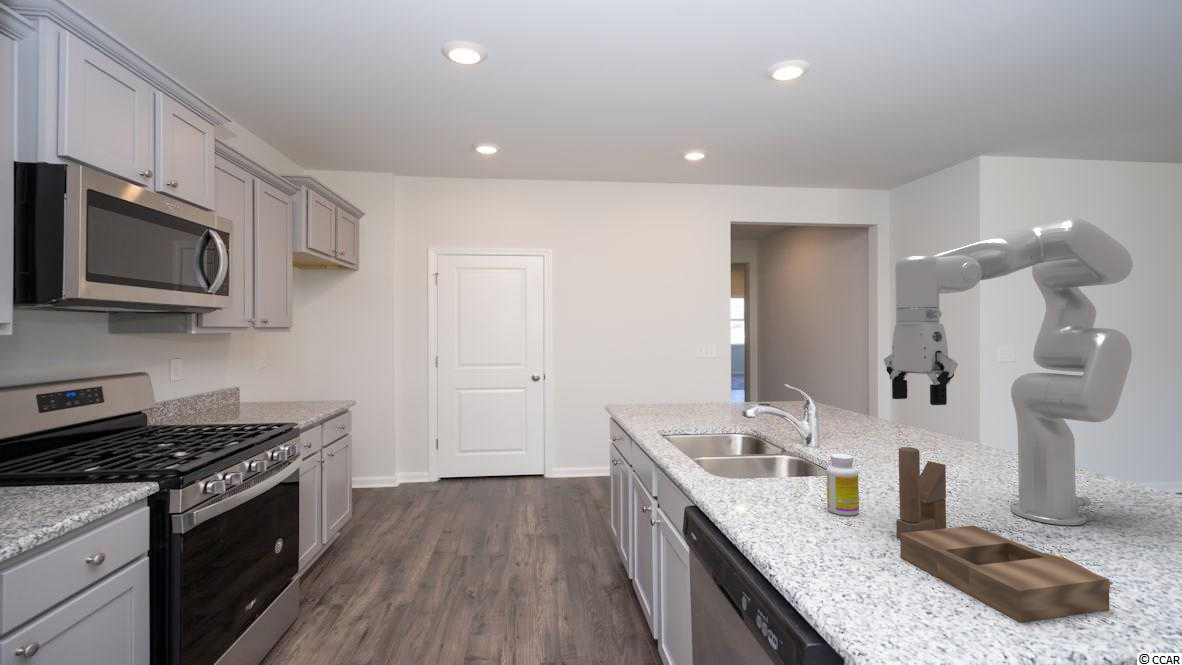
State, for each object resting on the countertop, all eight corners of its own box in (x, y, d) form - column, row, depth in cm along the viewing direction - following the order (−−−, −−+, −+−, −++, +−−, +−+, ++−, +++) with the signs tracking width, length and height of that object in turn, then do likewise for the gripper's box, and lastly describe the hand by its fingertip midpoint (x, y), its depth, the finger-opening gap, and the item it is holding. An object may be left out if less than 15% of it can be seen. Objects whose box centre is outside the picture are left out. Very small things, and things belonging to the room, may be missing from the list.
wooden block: (947, 533, 106) (945, 445, 106) (913, 543, 102) (911, 451, 102) (929, 527, 110) (927, 442, 110) (895, 537, 105) (893, 448, 105)
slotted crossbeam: (974, 549, 99) (973, 525, 99) (1109, 609, 77) (1109, 578, 77) (900, 557, 96) (900, 533, 96) (1020, 622, 74) (1019, 590, 74)
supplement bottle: (866, 514, 118) (864, 457, 118) (843, 518, 116) (842, 460, 116) (842, 505, 125) (841, 451, 125) (820, 508, 122) (819, 454, 122)
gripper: (971, 315, 98) (972, 406, 98) (900, 318, 115) (901, 396, 115) (937, 315, 97) (938, 408, 96) (870, 318, 114) (871, 397, 113)
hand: (918, 401), depth 106 cm, fingers open, 9 cm apart
